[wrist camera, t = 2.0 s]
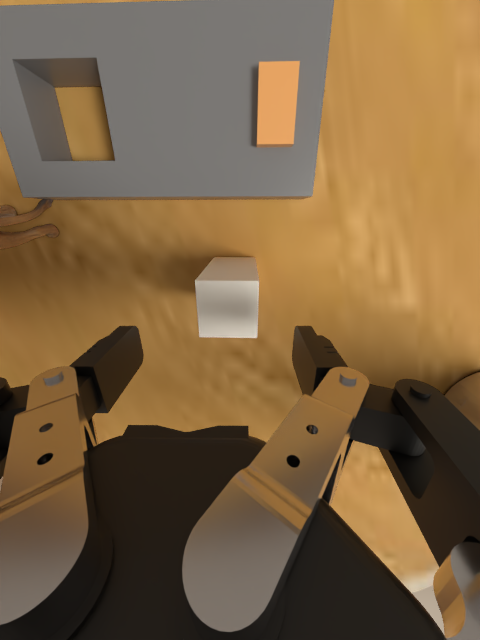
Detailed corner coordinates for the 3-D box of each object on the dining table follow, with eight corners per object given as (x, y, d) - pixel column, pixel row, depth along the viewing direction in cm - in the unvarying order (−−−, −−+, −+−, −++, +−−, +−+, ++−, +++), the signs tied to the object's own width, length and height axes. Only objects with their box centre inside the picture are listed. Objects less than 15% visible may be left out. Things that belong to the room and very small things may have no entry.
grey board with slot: (317, 39, 16) (339, -17, 12) (302, 199, 20) (315, 195, 17) (13, 46, 17) (-58, -5, 13) (57, 200, 21) (13, 196, 17)
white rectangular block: (255, 257, 23) (259, 281, 14) (254, 296, 24) (257, 338, 16) (214, 257, 23) (194, 280, 15) (215, 296, 24) (199, 337, 16)
